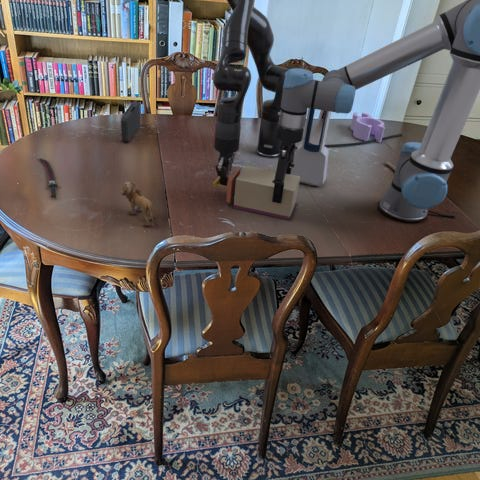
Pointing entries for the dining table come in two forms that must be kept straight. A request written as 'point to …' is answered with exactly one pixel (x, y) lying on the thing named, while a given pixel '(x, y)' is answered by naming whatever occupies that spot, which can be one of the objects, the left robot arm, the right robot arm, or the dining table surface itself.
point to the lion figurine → (137, 201)
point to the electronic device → (312, 154)
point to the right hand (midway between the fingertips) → (280, 193)
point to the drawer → (229, 184)
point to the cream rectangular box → (265, 192)
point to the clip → (367, 127)
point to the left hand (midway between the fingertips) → (223, 186)
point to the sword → (52, 181)
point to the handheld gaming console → (130, 121)
